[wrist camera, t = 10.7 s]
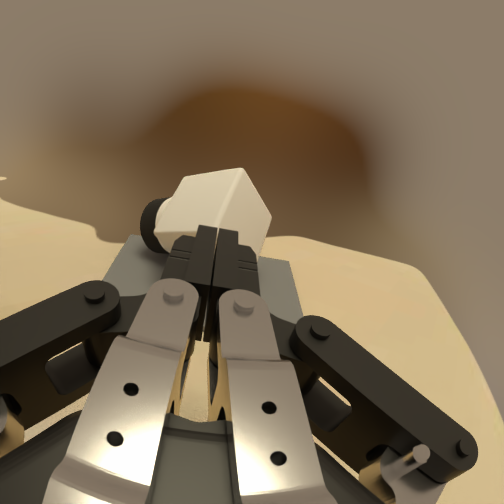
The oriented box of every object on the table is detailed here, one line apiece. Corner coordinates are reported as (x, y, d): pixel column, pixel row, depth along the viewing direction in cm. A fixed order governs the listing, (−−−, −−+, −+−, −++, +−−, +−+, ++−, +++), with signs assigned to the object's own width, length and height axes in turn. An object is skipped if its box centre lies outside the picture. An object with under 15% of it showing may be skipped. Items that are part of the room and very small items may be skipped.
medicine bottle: (243, 165, 24) (152, 181, 30) (213, 232, 21) (121, 234, 27) (273, 216, 29) (186, 220, 35) (253, 278, 26) (162, 269, 32)
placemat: (90, 308, 22) (89, 303, 22) (130, 238, 34) (130, 234, 33) (306, 342, 25) (308, 338, 25) (287, 265, 37) (288, 261, 36)
